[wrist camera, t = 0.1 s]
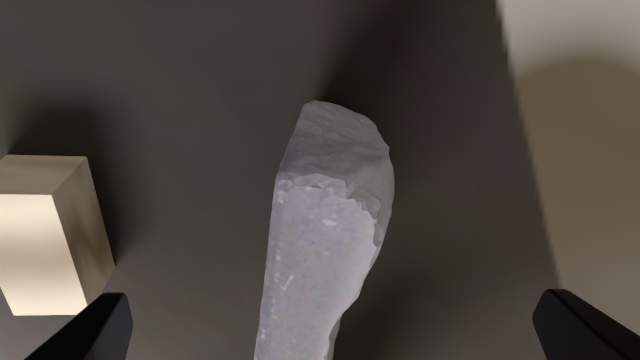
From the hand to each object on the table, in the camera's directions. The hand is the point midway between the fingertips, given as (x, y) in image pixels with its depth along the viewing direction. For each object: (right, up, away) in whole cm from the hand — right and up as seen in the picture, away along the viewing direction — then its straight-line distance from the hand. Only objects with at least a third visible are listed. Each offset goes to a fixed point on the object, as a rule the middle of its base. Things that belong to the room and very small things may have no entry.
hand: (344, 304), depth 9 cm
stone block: (-1, +3, +15) cm, 15 cm away
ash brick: (-15, +1, +15) cm, 22 cm away
